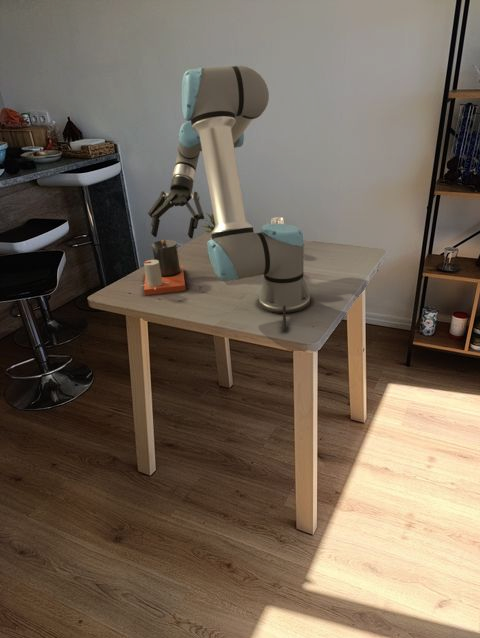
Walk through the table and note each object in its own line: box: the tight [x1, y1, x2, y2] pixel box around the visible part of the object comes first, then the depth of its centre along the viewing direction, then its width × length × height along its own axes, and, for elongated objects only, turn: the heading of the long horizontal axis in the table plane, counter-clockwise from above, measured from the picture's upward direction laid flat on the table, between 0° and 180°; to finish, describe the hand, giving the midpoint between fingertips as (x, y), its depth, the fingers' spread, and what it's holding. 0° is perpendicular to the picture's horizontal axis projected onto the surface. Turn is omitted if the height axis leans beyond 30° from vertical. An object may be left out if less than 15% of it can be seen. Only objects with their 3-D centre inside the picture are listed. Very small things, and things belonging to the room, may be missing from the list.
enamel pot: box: [150, 239, 181, 276], centre depth 162 cm, size 8×8×11 cm
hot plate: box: [141, 264, 187, 296], centre depth 162 cm, size 19×14×2 cm
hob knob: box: [143, 259, 163, 287], centre depth 154 cm, size 5×5×8 cm
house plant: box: [201, 211, 215, 239], centre depth 183 cm, size 14×14×16 cm
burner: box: [161, 268, 182, 277], centre depth 165 cm, size 9×9×1 cm
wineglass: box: [269, 216, 286, 224], centre depth 182 cm, size 6×6×12 cm
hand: (171, 236), depth 165 cm, fingers open, 13 cm apart
